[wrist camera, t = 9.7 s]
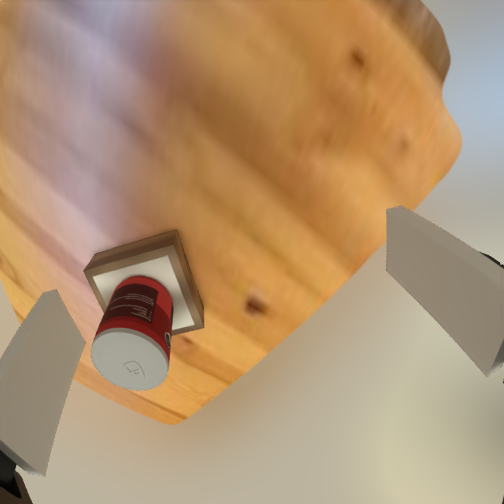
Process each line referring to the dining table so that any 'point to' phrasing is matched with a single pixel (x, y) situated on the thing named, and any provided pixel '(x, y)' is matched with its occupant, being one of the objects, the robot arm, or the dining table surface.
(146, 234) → the dining table surface
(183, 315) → the base block
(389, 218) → the robot arm
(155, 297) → the canned food
